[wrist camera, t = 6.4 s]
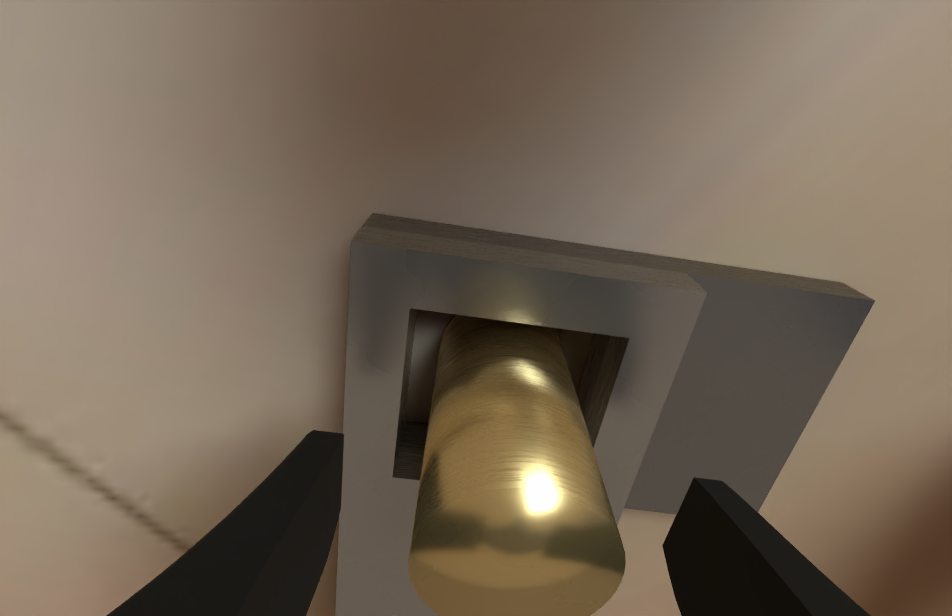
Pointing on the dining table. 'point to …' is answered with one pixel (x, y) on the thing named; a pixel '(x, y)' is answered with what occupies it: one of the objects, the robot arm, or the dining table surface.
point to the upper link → (499, 298)
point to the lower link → (710, 368)
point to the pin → (510, 482)
